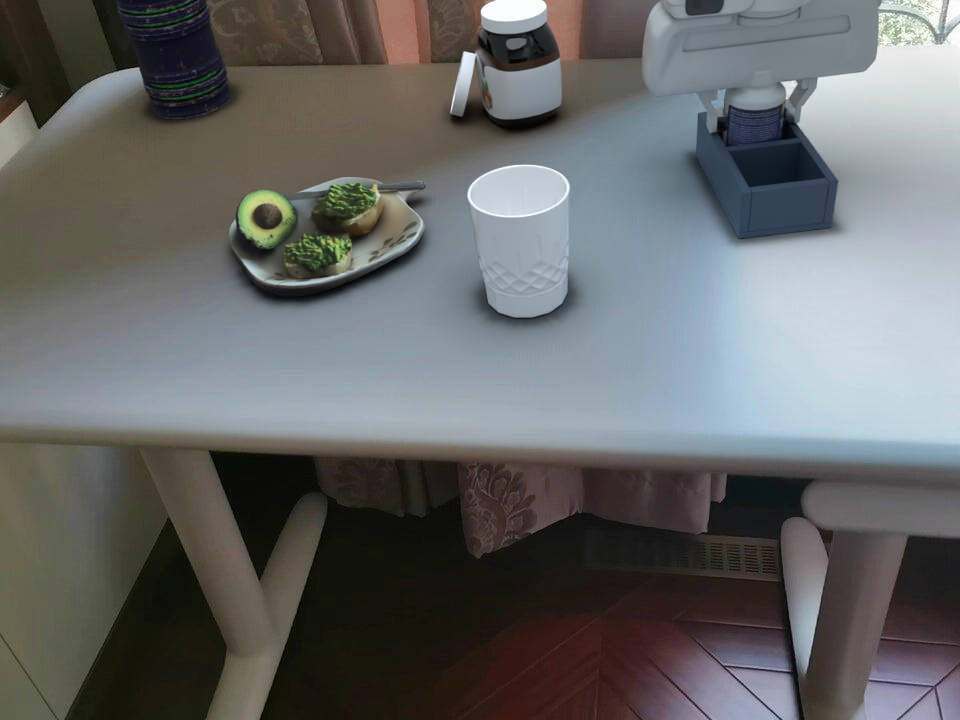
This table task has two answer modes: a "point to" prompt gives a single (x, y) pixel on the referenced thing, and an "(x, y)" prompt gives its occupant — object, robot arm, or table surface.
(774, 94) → the pill bottle
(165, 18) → the storage jar
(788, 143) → the divided storage box
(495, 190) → the white cup
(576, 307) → the table surface
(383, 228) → the avocado toast plate
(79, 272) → the table surface
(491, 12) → the spread jar
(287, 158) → the table surface
